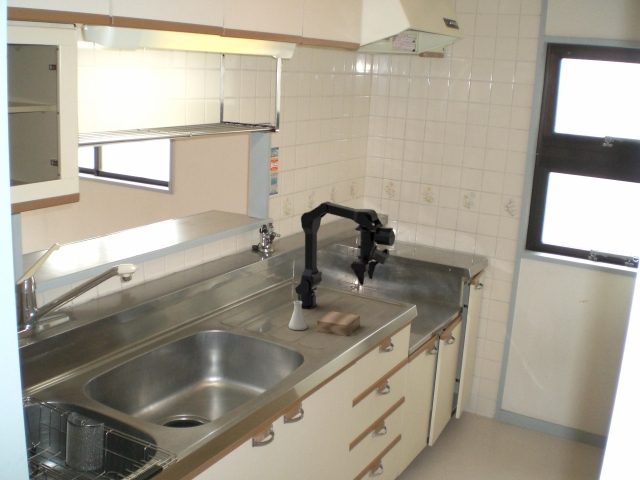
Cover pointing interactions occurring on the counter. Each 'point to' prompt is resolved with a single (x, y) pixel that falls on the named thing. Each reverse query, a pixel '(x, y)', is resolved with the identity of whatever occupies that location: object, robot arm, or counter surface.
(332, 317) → the walnut block
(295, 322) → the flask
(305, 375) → the counter surface
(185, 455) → the counter surface
